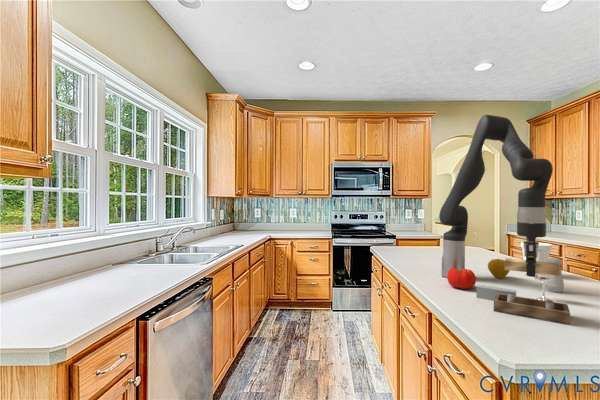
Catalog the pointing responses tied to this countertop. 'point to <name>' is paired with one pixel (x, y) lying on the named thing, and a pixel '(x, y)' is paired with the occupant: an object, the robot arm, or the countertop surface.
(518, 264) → the board
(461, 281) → the tomato
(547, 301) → the peg frame
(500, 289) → the stand
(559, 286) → the salt shaker
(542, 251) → the cup
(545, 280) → the wineglass
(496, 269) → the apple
